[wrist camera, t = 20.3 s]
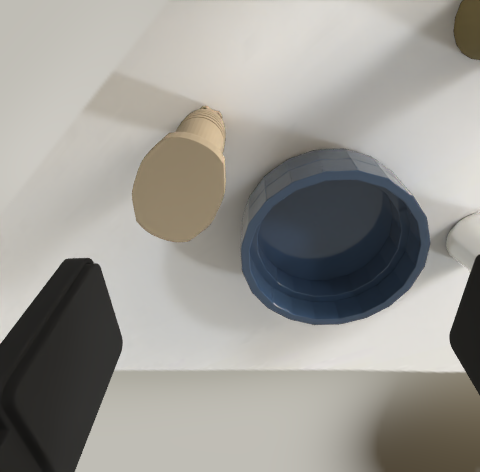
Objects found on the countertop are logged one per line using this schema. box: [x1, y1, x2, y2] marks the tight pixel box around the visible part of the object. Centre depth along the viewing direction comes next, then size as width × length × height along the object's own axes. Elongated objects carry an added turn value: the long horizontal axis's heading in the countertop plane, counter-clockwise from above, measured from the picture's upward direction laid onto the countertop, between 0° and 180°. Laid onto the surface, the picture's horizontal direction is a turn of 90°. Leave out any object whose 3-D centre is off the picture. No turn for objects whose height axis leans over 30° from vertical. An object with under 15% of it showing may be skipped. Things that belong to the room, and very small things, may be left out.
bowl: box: [241, 149, 430, 325], centre depth 36 cm, size 17×17×6 cm
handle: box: [132, 106, 226, 242], centre depth 27 cm, size 5×6×15 cm
